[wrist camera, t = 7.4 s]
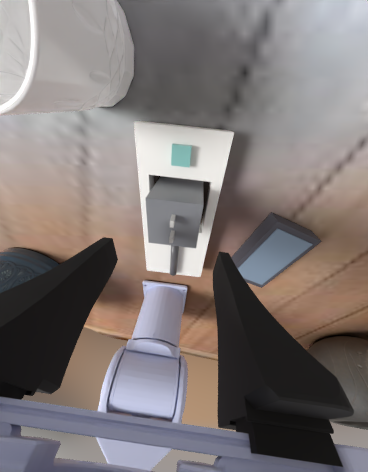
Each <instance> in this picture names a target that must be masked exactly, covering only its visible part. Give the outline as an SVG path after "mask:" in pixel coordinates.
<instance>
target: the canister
mask: <svg viewBox="0 0 368 472" xmlns="http://www.w3.org/2000/svg"><path fill="white" fill-rule="evenodd" d="M58 265H59V264H58V263H57V262H55V261H54V260H52V259H50V258H48V257H46V256H44V255H42V254H40V253H37V252H35V251H31V250H27V249H22V248H9V249H6V250H4V251H2V252H0V293H2V292H4V291H6V290H9V289H11V288H13V287H15V286H18V285H20V284H22V283H24V282H27V281H29V280H31V279H33V278H35V277H37V276H39V275H41V274H43V273H45V272H47V271H49V270H51V269H53V268H55V267H56V266H58Z"/></svg>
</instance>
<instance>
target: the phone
mask: <svg viewBox="0 0 368 472" xmlns="http://www.w3.org/2000/svg"><path fill="white" fill-rule="evenodd" d="M320 242H321V240H320V239H319V238H318V237H317V236H316V235H315V234H314V233H313V232H312V231H311V230H308V229H306V228H304V227H302V226H300V225H298V224H295V223H293V222H291V221H289V220H287V219H285V218H282V217H280V216H278V215H276V214H274V213H272V212H271V213H270V214H269V215H268V217H267V218H266V219H265V220H264V221H263V222H262V223H261V224H260V226H259V227H258V228H257V229H256V230H255V231H254V232H253V234H252V235H251V236H250V237H249V238H248V239H247V240H246V241H245V243H244V244H243V245H242V246H241V247H240V248H239V249H238V251H237V252H236V253H235V254H234V255H233V256H232V257H231V258H232V260H233V262H234V264H235V265H236V267H237V269H238V270H239V272H240V274H241V275H242V277H243V278H244V280H245V281H246V282H247V283H250V284H253V285H256V286H258V287H261V288H262V287H263V286H265V285H266V284H267V283H268V282H270V281H271V280H272V279H274V278H275V277H276V276H277V275H279V274H280V273H281V272H283V271H284V270H285V269H287V268H288V267H289V266H290V265H292V264H293V263H294V262H296V261H297V260H298V259H299V258H301V257H302V256H303V255H305V254H306V253H307V252H309V251H310V250H311V249H312V248H314V247H315V246H316V245H318V244H319V243H320Z"/></svg>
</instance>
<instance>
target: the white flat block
mask: <svg viewBox="0 0 368 472" xmlns="http://www.w3.org/2000/svg"><path fill="white" fill-rule="evenodd" d="M134 131H135V142H136V153H137V165H138V176H139V187H140V198H141V210H142V221H143V232H144V243H145V255H146V266H147V270H149V271H156V272H164V273H170V274H171V275H173V276H174V275H176V274H180V275H187V276H195V277H200V276H201V272H202V268H203V264H204V259H205V255H206V251H207V247H208V242H209V238H210V234H211V229H212V225H213V221H214V217H215V212H216V208H217V204H218V200H219V195H220V191H221V187H222V183H223V178H224V174H225V170H226V166H227V161H228V157H229V153H230V149H231V144H232V140H233V136H234V132H232V131H229V130H220V129H211V128H201V127H192V126H183V125H174V124H165V123H156V122H146V121H135V122H134ZM154 175H156V176H165V177H173V178H182V179H191V180H199V181H208V182H210V183H209V188H208V194H207V199H206V204H205V210H204V215H203V221H202V224H200V228H199V234H198V240H197V246H196V248H188V247H180V246H172V245H163V244H155V243H149V241H148V227H147V213H146V199H145V198H146V197H147V195H148V194H149V192H150V191H151V189H152V188H153V186H154Z"/></svg>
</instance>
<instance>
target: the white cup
mask: <svg viewBox="0 0 368 472" xmlns="http://www.w3.org/2000/svg"><path fill="white" fill-rule="evenodd" d="M133 76H134V44H133V41H132V37H131V34H130V30H129V27H128V23H127V19H126V16H125V13H124V11H123V9H122V8H121V6H120V5H119V3H118V1H117V0H0V116H3V115H19V114H37V113H55V112H73V111H75V112H76V111H82V110H91V109H93V108H96V107H112V106H114V105H115V104H116V103H117V102H119V101H120V100H121V99H123V98H124V97H125V96H126V94H127V92H128V89H129V87H130V84H131V81H132V79H133Z"/></svg>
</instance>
